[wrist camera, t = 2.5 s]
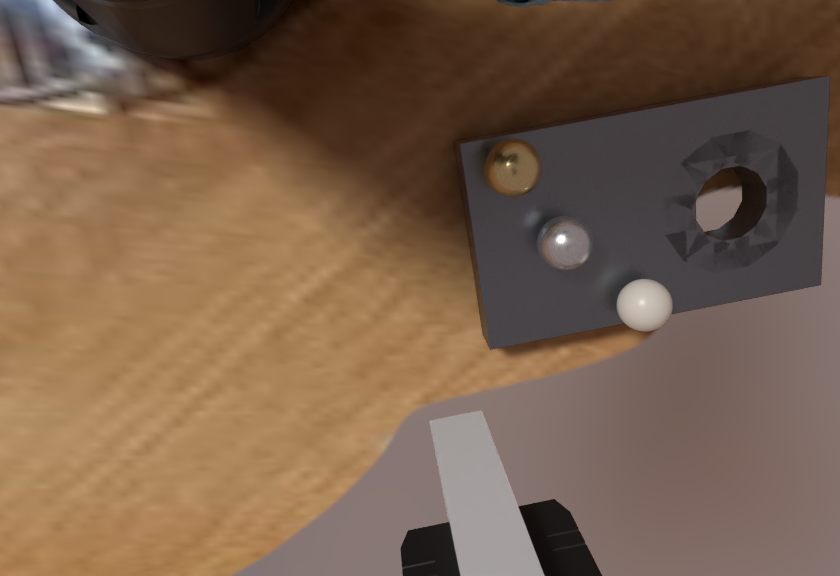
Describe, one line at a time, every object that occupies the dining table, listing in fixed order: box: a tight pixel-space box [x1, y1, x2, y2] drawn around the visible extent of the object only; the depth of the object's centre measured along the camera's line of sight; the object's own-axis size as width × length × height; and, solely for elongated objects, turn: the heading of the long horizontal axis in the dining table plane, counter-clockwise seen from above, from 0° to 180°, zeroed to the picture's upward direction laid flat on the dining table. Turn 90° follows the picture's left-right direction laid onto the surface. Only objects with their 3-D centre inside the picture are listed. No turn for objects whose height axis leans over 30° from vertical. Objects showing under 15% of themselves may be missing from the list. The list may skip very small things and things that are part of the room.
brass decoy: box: [484, 139, 542, 198], centre depth 33 cm, size 3×3×3 cm
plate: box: [454, 76, 830, 350], centre depth 38 cm, size 22×13×2 cm, turn 100°
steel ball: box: [537, 216, 594, 271], centre depth 35 cm, size 3×3×3 cm
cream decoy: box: [617, 279, 673, 331], centre depth 36 cm, size 3×3×3 cm
